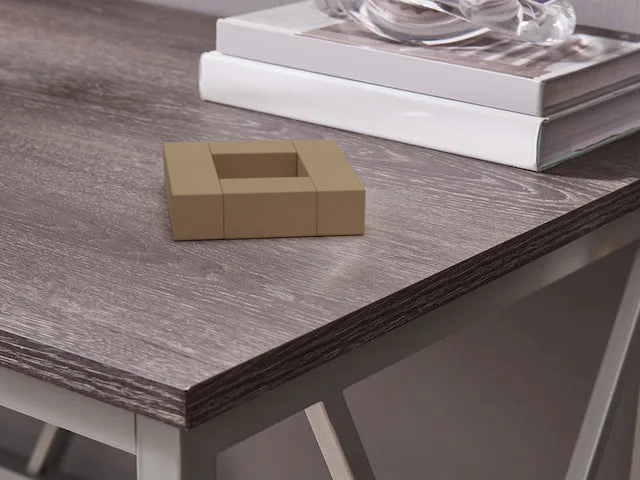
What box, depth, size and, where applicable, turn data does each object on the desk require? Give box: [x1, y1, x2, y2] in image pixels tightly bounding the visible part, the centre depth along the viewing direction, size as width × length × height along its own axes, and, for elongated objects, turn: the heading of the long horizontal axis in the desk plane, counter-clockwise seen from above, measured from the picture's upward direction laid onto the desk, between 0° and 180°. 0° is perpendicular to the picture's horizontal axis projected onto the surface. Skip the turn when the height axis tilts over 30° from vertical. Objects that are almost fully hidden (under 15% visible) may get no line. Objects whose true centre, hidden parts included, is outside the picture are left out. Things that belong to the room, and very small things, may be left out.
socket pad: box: [162, 138, 366, 241], centre depth 72 cm, size 10×10×2 cm
